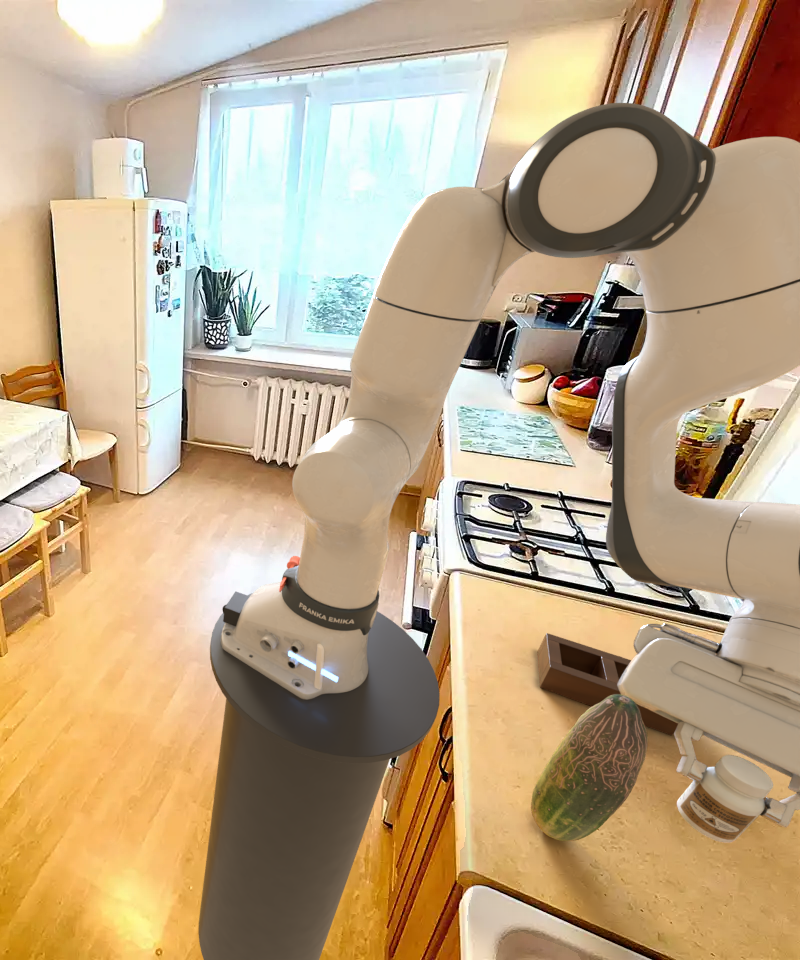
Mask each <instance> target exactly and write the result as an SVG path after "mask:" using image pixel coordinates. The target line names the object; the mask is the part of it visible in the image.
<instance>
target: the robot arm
mask: <svg viewBox="0 0 800 960" xmlns="http://www.w3.org/2000/svg"><path fill="white" fill-rule="evenodd" d="M531 253H538V254H542V255H545V256H547V257H554V258H562V259H578V258H579V259H580V258H589V257H590V258H591V257H597V256H602V255H609V254H611V255H612V254H620V253H621V254H622V253H624V254H626V256H628V257H629V258H630V260H631V261H632V263H633V265H634V267H635V269H636V272H637V274H638V276H639V279H640V283H641V289H642V297H643V303H644V309H645V313H646V320H647V321H646V323H647V324H646V333H645V339H644V343H643V345H642V348H641V350H640V353H639V354H638V356H636V357H634V358H632V359H631V360H630V361H628V362H626V364H625V365H624V366H623V367H622V368H621V370H620V372H619V374H618V377H617V381H616V384H615V389H614V395H613V402H612V403H613V405H612V421H611V422H612V424H611V425H612V426H611V429H612V430H611V443H612V445H611V456H612V457H611V505H610V510H609V514H608V521H607V526H606V531H605V532H606V533H605V545H606V551H607V552H608V554H609V555H610V557H611V559H612V560H613V562H614V563H615V564H616V565H617V566H618V567H619V568H620V569H621V570H622V571H623V572H624V573H625V574H626V575H627V576H628V577H629V578H630V579H632V580H634V581H636V582H639V583H643V584H644V583H645V584H652V585H659V586H667V587H675V588H685V589H690V590H696V591H701V592H705V593H711V594H717V595H721V596H725V597H731V598H734V599H735V598H736V599H740V600H743V603H742V604H741V606H740V608H739V609H738V610H737V611H736V612H735V613H734V614H733V615H732V616H731V617H730V618H729V621H728V623H727V625H726V627H725V630H724V633H723V634H722V637H721V639H720V642H716V641H714V640H711V639H709V638H706V637H703V636H701V635H699V634H694V633H692V632H688V631H685V630H683V629H681V628H680V627H678V626H676V625H673V624H669V623H665V622H663V623H662V624H658V623H648V624H645V625H643V626H641V627H640V628H639V629H638V631H637V633H636V635H635V637H634V640H633V649H634V651H635V653H636V654H635V655H634V657H633V658H632V659H631V660H632V661H631V662H630V663H629V665H628V666H627V668H626V669H625V671H624V672H623V674H622V676H621V678H620V679H619V682H618V684H617V686H618V689H619V691H620V693H621V695H624V696H627V697H629V698H630V699H632V700H633V701H634V702H635V703H636V704H638V705H640V706H642V707H645V708H647V709H649V710H651V711H653V712H655V713H657V714H659V715H661V716H663V717H665V718H668V719H670V720H672V721H674V722H676V723H678V726H677V728H676V730H675V732H674V733H673V735H674V739H675V741H676V744H677V748H678V751H679V754H680V756H681V757H680V760H679V762H678V765H677V766H676V773H677V774H679V775H681V776H683V777H686V778H688V779H690V780H691V781H692V782H693V781H695V782H701V780H702V778H703V774H702V773H704V772H705V771H706V769H707V767H708V765H707V764H706V763H704V762H701V761H699V760H697V759H698V758H697V755H696V751H695V748H694V744H693V742H698V741H700V740H701V738H702V736H704V737H705V738H707V739H709V740H712V741H713V742H716V743H718V744H720V745H721V746H724V747H726V748H728V749H730V750H733V751H734V752H737V753H739V754H741V755H743V756H745V757H747V758H749V759H751V760H753V761H756V762H758V763H760V764H762V765H764V766H766V767H768V768H770V769H772V770H775V771H776V772H779V773H781V774H783V775H784V776H787V777H789V778H790V781H789V784H788V787H787V789H788V790H790V791H792V792H793V793H794V794H792V795H789V796H788V797H786V798H783V799H780V800H777V799H775V798H772V797H768V796H765V798H763V799H764V802H765V809H764V811H763V812H762V813H761V814H760V815H759V816H760V817H762V818H764V819H766V820H767V821H770V822H771V823H773V824H775V825H778V826H779V827H782V828H787V827H789V826H790V824H791V821H792V819H793V817H794V814H795V811H800V504H799V503H798V504H796V503H785V502H784V503H783V502H771V501H746V500H745V501H744V500H732V499H720V498H719V499H718V498H706V497H696V496H692V495H689V494H686V493H684V492H683V491H681V490H680V489H678V488H677V486H676V485H675V471H676V453H677V452H676V451H677V433H678V432H677V430H678V425H679V422H680V419H681V418H682V417H683V415H684V414H685V413H689V412H690V411H693V410H696V409H699V408H701V407H703V406H707V405H709V404H713V403H716V402H719V401H721V400H725V399H727V398H731V397H734V396H737V395H739V394H742V393H745V392H748V391H751V390H753V389H756V388H759V387H762V386H764V385H765V384H768V383H770V382H772V381H774V380H777V379H778V378H781V377H782V376H784V375H786V374H788V373H790V372H792V371H793V370H795V369H797V368H799V367H800V141H797V140H795V139H792V138H789V137H784V136H760V137H751V138H746V139H741V140H736V141H733V142H729V143H724V144H723V145H720V146H717V147H714V148H711V147H709V146H708V145H706V144H705V143H704V142H702V141H701V140H699V139H698V138H696V137H695V136H694V135H692V134H691V133H689V132H688V131H687V130H685V129H684V128H683V127H681V126H680V125H679V124H678V123H676V122H675V121H673V119H671V118H669V117H668V116H666V114H664V113H662V112H660V111H658V110H656V109H654V108H652V107H649V106H646V105H643V104H638V103H632V102H630V103H629V102H611V103H605V104H600V105H597V106H592V107H590V108H589V107H588V108H586V109H584V110H581V111H578V112H577V113H574V114H573V115H571V116H568V117H567V118H565V119H563V120H562V121H560V122H558V123H557V124H555V125H554V126H553V127H552V128H550V129H549V130H548V131H546V133H544V134H543V135H542V136H541V137H539V138H538V139H536V141H535V142H534V143H533V144H532V145H531V146H530V147H529V148H528V149H527V150H526V152H524V154H523V155H522V156H521V158H519V160H518V161H517V163H516V164H515V165H514V166H513V167H512V169H511V170H510V172H508V174H506V175H505V177H503V178H502V179H501V180H500V181H499V182H497V183H496V184H493V185H491V186H487V187H474V186H452V187H448V188H444V189H440V190H437V191H434V192H432V193H430V194H428V195H426V196H425V197H424V198H422V199H421V200H419V202H418V203H417V204H416V205H415V206H414V208H413V209H412V210H411V212H410V214H409V216H408V217H407V219H406V221H405V222H404V224H403V226H402V228H401V229H400V232H399V233H398V235H397V237H396V239H395V241H394V243H393V245H392V248H391V250H390V252H389V254H388V256H387V258H386V261H385V263H384V266H383V268H382V270H381V273H380V275H379V278H378V280H377V282H376V285H375V289H374V291H373V294H372V297H371V300H370V303H369V305H368V308H367V311H366V314H365V318H364V320H363V323H362V326H361V330H360V332H359V335H358V338H357V341H356V344H355V346H354V350H353V353H352V355H351V358H350V363H349V368H350V373H351V377H350V387H349V394H348V399H347V404H346V406H345V407H346V408H345V410H344V413H343V415H342V417H341V419H340V420H339V422H338V423H337V425H336V426H335V427H334V428H333V429H332V430H330V431H329V432H328V433H326V434H325V435H323V436H321V437H320V438H318V439H317V440H316V441H315V442H313V443H312V444H311V445H310V447H309V448H308V449H307V451H306V452H305V453H304V455H303V456H302V458H301V459H300V461H299V463H298V465H297V466H296V468H295V470H294V472H293V475H292V481H291V486H292V493H293V494H292V495H293V497H294V500H295V503H296V504H297V506H298V508H299V509H300V510H301V512H302V514H303V538H302V545H301V549H300V554H299V555H300V556H298V555H293V556H291V557H290V558H289V561H288V562H287V563H286V570H284V572H283V574H282V578H281V581H277V582H273V583H272V582H271V583H267V584H263V585H261V586H259V587H258V588H257V589H256V590H254V591H253V592H251V593H252V595H251V596H248V595H249V594H245V593H241V592H239V591H234V593H233V594H232V596H231V597H230V599H229V600H228V602H227V603H226V604H224V605H223V606H222V609H221V610H222V613H224V618H223V622H225V624H224V627H223V630H222V634H221V645H222V648H223V649H224V650H225V651H226V652H228V653H230V654H231V655H233V656H234V657H236V658H238V659H239V660H241V661H242V662H244V663H245V664H247V665H249V666H250V667H252V668H253V669H255V670H257V671H258V672H260V673H261V674H263V675H265V676H266V677H268V678H269V679H271V680H272V681H274V682H276V683H277V684H279V685H280V686H282V687H284V688H285V689H287V690H288V691H290V692H292V693H293V694H295V695H296V696H298V697H300V698H302V699H306V700H308V699H312V698H315V697H317V696H319V695H321V694H328V693H343V692H348V691H351V690H353V689H355V688H357V687H359V686H360V685H361V684H362V683H363V682H364V681H365V679H366V677H367V675H368V661H367V642H368V633H369V631H370V629H371V628H372V626H373V623H374V619H375V616H376V612H377V611H378V608H379V605H380V603H379V601H380V590H379V588H380V584H381V580H382V577H383V574H384V571H385V566H386V562H387V558H388V555H389V551H390V544H389V541H388V536H389V533H388V532H389V523H390V517H391V513H392V509H393V506H394V504H395V502H396V499H397V497H398V496H399V494H400V492H401V491H402V489H403V487H404V486H405V485H406V483H408V481H409V480H410V478H411V477H412V476H413V475H414V473H416V472H417V470H418V469H419V467H420V465H421V463H422V461H423V459H424V456H425V454H426V452H427V449H428V446H429V444H430V441H431V439H432V437H433V434H434V432H435V429H436V427H437V423H438V421H439V418H440V415H441V414H442V410H443V407H444V404H445V402H446V398H447V396H448V393H449V391H450V388H451V386H452V384H453V382H454V380H455V376H456V375H457V373H458V370H459V368H460V366H461V364H462V362H463V359H464V357H465V355H466V353H467V351H468V349H469V346H470V344H471V343H472V340H473V338H474V336H475V334H476V332H477V329H478V327H479V325H480V322H481V320H482V318H483V316H484V314H485V312H486V309H487V307H488V305H489V303H490V300H491V298H492V296H493V294H494V292H495V290H496V288H497V286H498V284H499V283H500V281H501V280H502V278H503V276H504V275H505V274H506V272H507V271H508V270H509V269H510V268H511V267H512V265H513V264H515V263H516V262H517V261H519V260H520V259H522V258H524V257H525V256H528V255H529V254H531ZM297 686H299V687H297Z"/></svg>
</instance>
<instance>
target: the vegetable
mask: <svg viewBox="0 0 800 960" xmlns="http://www.w3.org/2000/svg"><path fill="white" fill-rule="evenodd" d="M646 728H647V727H646V726H645V725H644V723H643V721H642V718H641V714H640V710H639V708H638V706H637V704H636V703H635V702H634V701H633V700H632V699H630V698H629V697H627V696H624V695H621V694H614V695H610V696H608V697H607V698H605V699H604V700H603V701H601V702H600V703H598V704H596V705H594V706H590V707H589V708H588V709H587V710H585V712H583V714H581V715H580V716H579V717H578V719H577V720H576V721H575V723H574V725H573V726H572V727H571V728H570V729H569V731H567V734H565V736H564V737H563V739H562V740H561V741H560V743H559V744H558V746H557V747H556V749H555V750H554V752H553V753H552V754H551V757H550V758H549V760H548V761H547V763H546V765H545V767H544V769H542V772H541V775H540V776H539V778H538V779H537V781H536V783H535V785H534V788H533V791H532V794H531V801H530V812H531V815H532V818H533V819H534V822H535V823H536V825H537V826H538V829H540V830H541V832H542V833H544V834H545V835H546V836H547V837H549V838H551V839H554V840H556V841H560V842H576V841H579V840H582V839H584V838H586V837H589V836H590V835H592V834H593V833H595V832H596V831H597V830H599V829H600V828H601V827H602V826H603V825H604V824H605V823H606V822H607V821H608V820H609V819H610V817H611V816H613V815H614V814H615V813H616V812H617V811H618V809H619V808H620V807H622V805H624V803H625V802H626V801H627V799H628V798H629V797H630V794H631V792H632V790H633V789H634V787H635V785H636V782H637V780H638V777H639V774H640V772H641V770H642V768H643V765H644V763H645V761H646V756H647V751H648V743H649V741H648V740H649V739H648V732H647V729H646Z"/></svg>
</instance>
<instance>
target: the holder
mask: <svg viewBox="0 0 800 960" xmlns="http://www.w3.org/2000/svg"><path fill="white" fill-rule="evenodd" d="M536 655H537V667H538V678H539V679H538V681H539V688H540V689H543V690H545V691H548V692H551V693H553V694H556V695H559V696H562V697H565V698H567V699H571V700H573V701H576V702H578V703H581V704H584V705H587V706H590V707H592V706H594V705H596V704H598V703H600V702H601V701H603V700H604V699H605V698H607V697H608V696H610V695H614V694H621V693H620V691H619V689H618V686H617V684H618V682H619V679H620V678H621V676H622V674H623V672H624V671H625V669H626V668H627V666H628V665H629V663H630V662H631V661H632V659H630V658H629V659H628V658H626V657H622V656H620V655H616V654H613V653H610V652H607V651H604V650H600V649H598V648H594V647H592V646H589V645H585V644H583V643H579V642H576V641H573V640H570V639H567V638H564V637H561V636H557V635H554V634H551V633H549V632H546V633H545V635H544V637H543V639H542V641H541V642H540V645H539V647H538V650H537V652H536ZM637 706H638V708H639V710H640V714H641V718H642V721H643V723H644V725H645V727H646V728H650V729H653V730H656V731H659V732H661V733H663V734H665V735H669V736H673V735H674V733H675V730H676V728H677V726H678V723H676V722H674V721H672V720H670V719H668V718H665V717H663V716H661V715H659V714H657V713H655V712H653V711H651V710H649V709H647V708H645V707H642V706H640V705H638V704H637Z"/></svg>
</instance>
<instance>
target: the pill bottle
mask: <svg viewBox="0 0 800 960" xmlns="http://www.w3.org/2000/svg"><path fill="white" fill-rule="evenodd" d="M702 774H703V778H702V780H701V782H695V781H693V780H692V782H691V783H690V784H689V786H687V788H686V789H685V790H684V792H683V793H681V795H680V796H679V798H677V801H676V807H677V810H678V812H679V814H680V816H681V817H682V818H683V820H684V821H685V822H686V823H687V824H688V825H689V826H690V827H692V828H693V829H694V830H695V831H697V833H700V834H701V835H703V836H705V837H706V838H708V839H711V840H712V841H715V842H719V843H723V844H729V843H730V844H731V843H734V842H735V841H736V840H737V839H739V838H740V836H741V835H742V834H743V833H744V832H745V831H746V830H747V829H748V828H749V827H750V826H751V824H752V823H753V822H755V820H757V819H758V818H759V816H760V814H761V813H762V812H763V811H764V809H765V802H764V799H763V798H765V797H768V795H769V794H770V792H771V791H772V790H773V788H774V782H773V780H772V778H771V776H769V774H767V772H765V770H763V769H762V768H761V767H759V766H758V765H757V764H755V763H753V762H752V761H750V760H748V759H746V758H744V757H740V756H738V755H734V754H725V755H723V756H721V757H720V759H719V760H718V761H717V762H715V764H714V766H707V769H706V771H705V772H704V773H702Z"/></svg>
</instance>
